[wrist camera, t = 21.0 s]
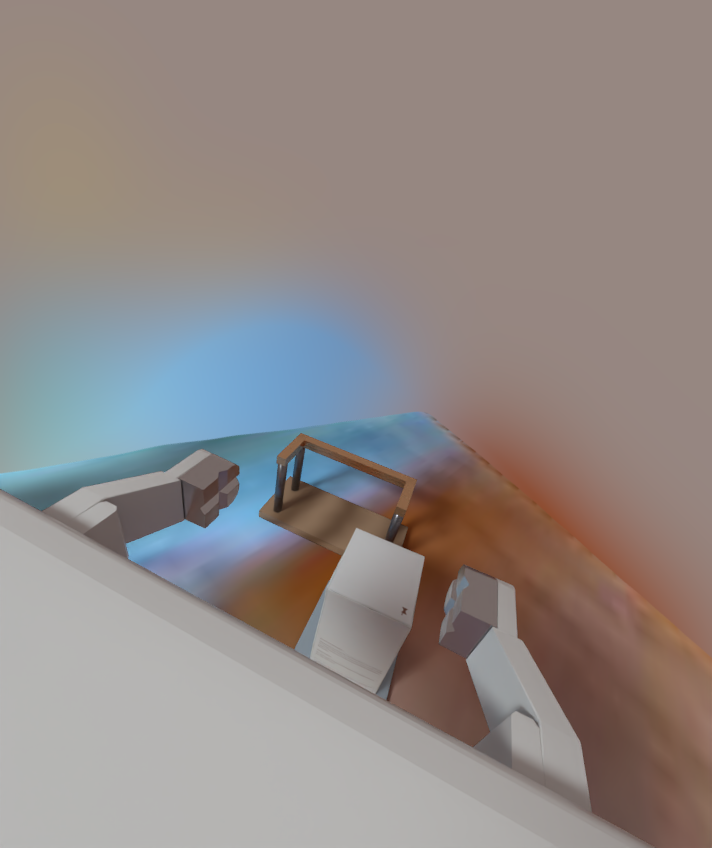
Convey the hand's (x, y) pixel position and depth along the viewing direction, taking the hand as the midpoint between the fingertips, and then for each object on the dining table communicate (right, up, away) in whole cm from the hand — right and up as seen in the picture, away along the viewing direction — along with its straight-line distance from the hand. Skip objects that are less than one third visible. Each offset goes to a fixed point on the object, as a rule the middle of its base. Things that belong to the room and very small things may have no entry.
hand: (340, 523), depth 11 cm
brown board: (-3, -11, +38) cm, 40 cm away
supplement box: (0, -20, +25) cm, 32 cm away
